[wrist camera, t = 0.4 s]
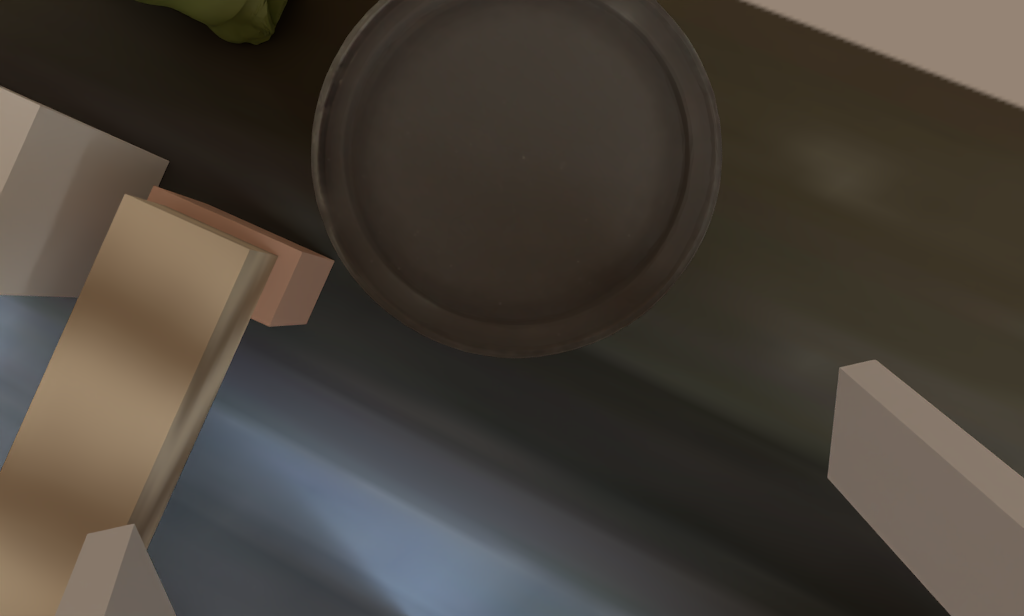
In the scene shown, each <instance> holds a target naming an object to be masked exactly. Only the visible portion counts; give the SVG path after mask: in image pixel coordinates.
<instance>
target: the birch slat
mask: <svg viewBox="0 0 1024 616" xmlns="http://www.w3.org/2000/svg"><path fill="white" fill-rule="evenodd" d="M277 258H278V256H277V255H275V254H273V253H270V252H268V251H266V250H264V249H261V248H259V247H257V246H255V245H252V244H250V243H248V242H246V241H243V240H241V239H239V238H237V237H235V236H232V235H230V234H228V233H226V232H223V231H221V230H219V229H217V228H214V227H212V226H210V225H208V224H205V223H203V222H201V221H199V220H197V219H194V218H192V217H190V216H188V215H185V214H183V213H181V212H179V211H176V210H174V209H172V208H170V207H167V206H165V205H161V204H158V203H155V202H151V201H148V200H145V199H141V198H138V197H135V196H131V195H128V194H124V197H123V199H122V201H121V203H120V206H119V208H118V210H117V212H116V215H115V217H114V219H113V221H112V223H111V226H110V228H109V230H108V232H107V235H106V237H105V239H104V241H103V244H102V246H101V248H100V250H99V252H98V255H97V257H96V259H95V261H94V264H93V266H92V268H91V270H90V273H89V275H88V277H87V279H86V282H85V284H84V286H83V288H82V290H81V293H80V295H79V297H78V299H77V302H76V304H75V306H74V308H73V311H72V313H71V315H70V317H69V319H68V322H67V324H66V326H65V328H64V331H63V333H62V335H61V337H60V340H59V342H58V344H57V346H56V348H55V351H54V353H53V355H52V357H51V360H50V362H49V364H48V366H47V369H46V371H45V373H44V375H43V378H42V380H41V382H40V384H39V386H38V389H37V391H36V393H35V395H34V398H33V400H32V402H31V404H30V407H29V409H28V411H27V413H26V415H25V418H24V420H23V422H22V424H21V427H20V429H19V431H18V433H17V436H16V438H15V440H14V442H13V444H12V447H11V449H10V451H9V453H8V456H7V458H6V460H5V462H4V465H3V467H2V469H1V471H0V616H55V614H56V611H57V609H58V606H59V604H60V601H61V599H62V596H63V594H64V591H65V589H66V586H67V584H68V581H69V579H70V576H71V574H72V571H73V569H74V566H75V564H76V561H77V559H78V556H79V554H80V551H81V549H82V546H83V544H84V541H85V539H86V536H87V534H89V533H94V532H98V531H103V530H107V529H112V528H116V527H121V526H125V525H130V524H135V526H136V528H137V530H138V532H139V535H140V537H141V539H142V541H143V543H144V546H145V548H146V550H147V548H148V546H149V544H150V542H151V540H152V537H153V535H154V533H155V531H156V528H157V526H158V524H159V522H160V519H161V517H162V515H163V513H164V510H165V508H166V506H167V504H168V502H169V499H170V497H171V495H172V493H173V490H174V488H175V486H176V484H177V481H178V479H179V477H180V475H181V472H182V470H183V468H184V466H185V464H186V461H187V459H188V457H189V455H190V452H191V450H192V448H193V446H194V443H195V441H196V439H197V437H198V434H199V432H200V430H201V428H202V426H203V423H204V421H205V419H206V417H207V414H208V412H209V410H210V408H211V405H212V403H213V401H214V399H215V397H216V394H217V392H218V390H219V388H220V385H221V383H222V381H223V379H224V376H225V374H226V372H227V370H228V367H229V365H230V363H231V361H232V359H233V356H234V354H235V352H236V350H237V347H238V345H239V343H240V341H241V338H242V336H243V334H244V332H245V329H246V327H247V325H248V323H249V321H250V318H251V316H252V314H253V312H254V309H255V307H256V305H257V303H258V300H259V298H260V296H261V294H262V291H263V289H264V287H265V285H266V283H267V280H268V278H269V276H270V274H271V271H272V269H273V267H274V265H275V262H276V260H277Z"/></svg>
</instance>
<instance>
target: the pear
mask: <svg viewBox="0 0 1024 616" xmlns="http://www.w3.org/2000/svg"><path fill="white" fill-rule="evenodd" d="M135 1H138V2H141V3H145V4H150V5H157V6H166V7H170V8H172V9H175V10H177V11H179V12H181V13H183V14H185V15H187V16H189V17H191V18H193V19H195V20H197V21H200V22H202V23H204V24H206V25H207V26H208V27H209V28H210V29H211V30H212V31H213V32H214V33H215V34H216V35H217V36H219V37H220V38H221V39H223V40H225V41H228V42H231V43H243V42H248V43H252V44H254V45H258V44H260V43H262V42H265V41H268V40H269V39H270V37H271V35H272V34H274V32H275V30H274V29H275V27H276V25H277V23H278V21H279V18H280V16H281V14H282V12H283V10H284V8H285V6H286V4H287V2H288V0H135Z"/></svg>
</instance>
